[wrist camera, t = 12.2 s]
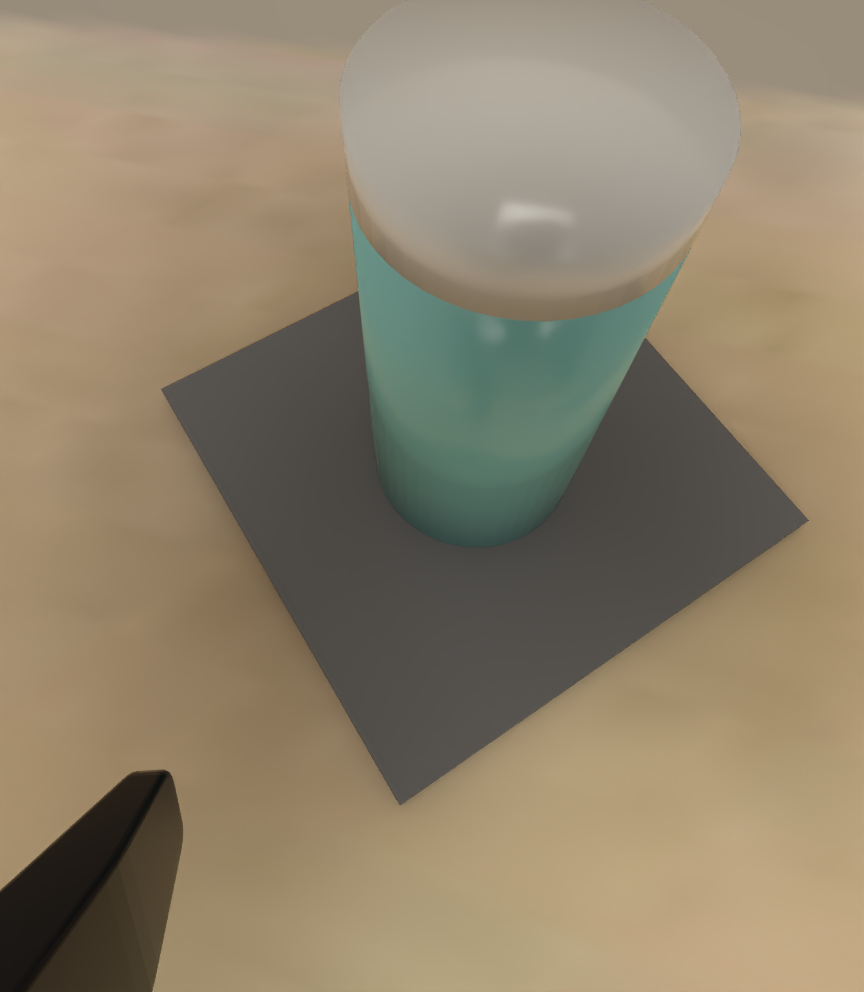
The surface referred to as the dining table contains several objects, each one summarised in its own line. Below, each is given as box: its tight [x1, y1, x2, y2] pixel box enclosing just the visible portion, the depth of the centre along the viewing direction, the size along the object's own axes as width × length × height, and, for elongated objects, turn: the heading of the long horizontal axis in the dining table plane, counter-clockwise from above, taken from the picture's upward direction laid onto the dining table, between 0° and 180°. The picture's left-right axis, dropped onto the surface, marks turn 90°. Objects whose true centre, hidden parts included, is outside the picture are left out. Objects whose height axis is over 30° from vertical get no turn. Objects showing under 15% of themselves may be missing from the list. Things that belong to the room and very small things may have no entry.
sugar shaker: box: [339, 0, 741, 547], centre depth 13 cm, size 5×5×10 cm
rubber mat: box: [161, 292, 809, 805], centre depth 18 cm, size 12×12×1 cm
